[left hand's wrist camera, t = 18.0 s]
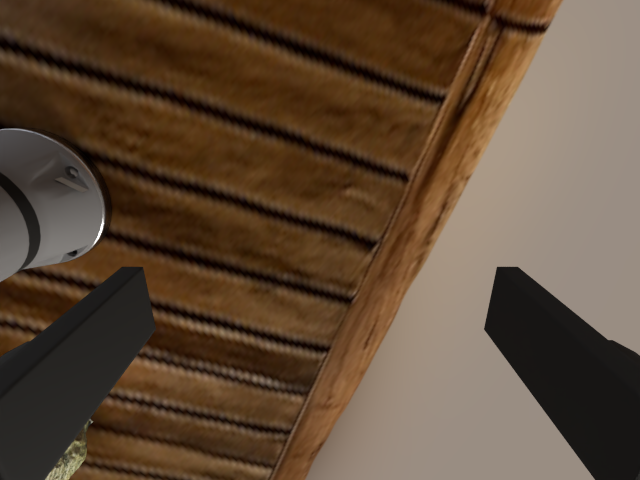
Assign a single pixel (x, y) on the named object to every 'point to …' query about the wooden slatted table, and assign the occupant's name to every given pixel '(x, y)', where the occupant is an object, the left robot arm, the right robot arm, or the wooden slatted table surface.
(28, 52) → the wooden slatted table surface
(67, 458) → the fossil
